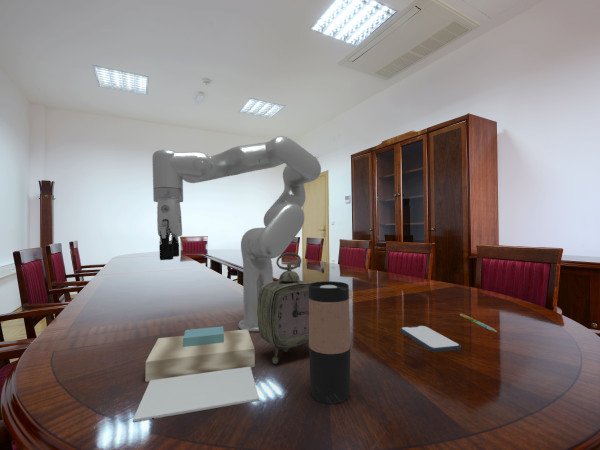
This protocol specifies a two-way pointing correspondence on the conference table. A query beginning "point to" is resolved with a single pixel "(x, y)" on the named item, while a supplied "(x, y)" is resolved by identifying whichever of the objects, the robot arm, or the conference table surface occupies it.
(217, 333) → the blue rectangular block
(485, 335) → the conference table surface
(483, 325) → the pencil
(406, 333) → the phone case
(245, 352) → the beige flat block
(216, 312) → the conference table surface
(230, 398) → the mat
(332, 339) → the travel mug
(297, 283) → the tabletop clock
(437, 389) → the conference table surface
